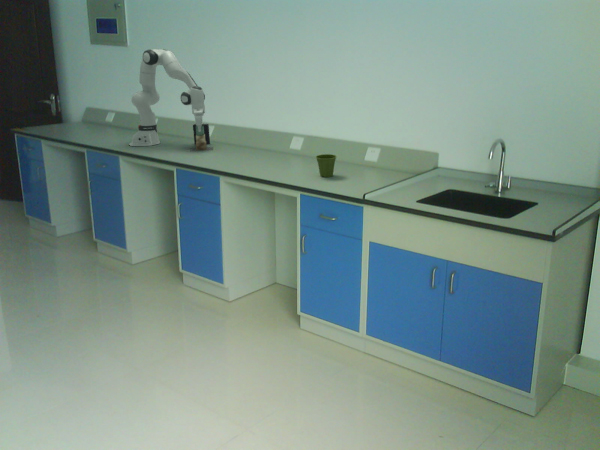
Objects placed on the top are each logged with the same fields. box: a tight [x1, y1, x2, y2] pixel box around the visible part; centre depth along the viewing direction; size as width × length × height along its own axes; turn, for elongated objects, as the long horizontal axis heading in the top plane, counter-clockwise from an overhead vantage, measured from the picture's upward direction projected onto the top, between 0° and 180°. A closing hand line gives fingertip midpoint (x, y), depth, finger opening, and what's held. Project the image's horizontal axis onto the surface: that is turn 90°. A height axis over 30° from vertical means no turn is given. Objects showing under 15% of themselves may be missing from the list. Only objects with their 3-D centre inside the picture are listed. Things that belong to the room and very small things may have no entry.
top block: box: [196, 134, 205, 143], centre depth 421 cm, size 6×6×5 cm
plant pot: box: [315, 153, 337, 178], centre depth 340 cm, size 12×12×11 cm
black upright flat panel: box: [192, 123, 211, 146], centre depth 440 cm, size 11×4×15 cm, turn 84°
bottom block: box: [195, 141, 208, 150], centre depth 423 cm, size 7×7×5 cm
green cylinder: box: [196, 126, 204, 136], centre depth 420 cm, size 6×6×6 cm
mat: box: [189, 146, 214, 152], centre depth 424 cm, size 16×12×1 cm
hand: (200, 130), depth 420 cm, fingers open, 8 cm apart
